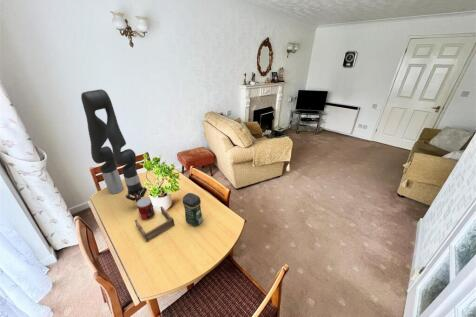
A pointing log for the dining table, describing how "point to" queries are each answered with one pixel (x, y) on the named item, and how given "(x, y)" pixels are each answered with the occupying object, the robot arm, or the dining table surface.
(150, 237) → the corral
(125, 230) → the dining table surface
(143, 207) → the canned food
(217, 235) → the dining table surface
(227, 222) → the dining table surface
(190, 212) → the coffee jar
